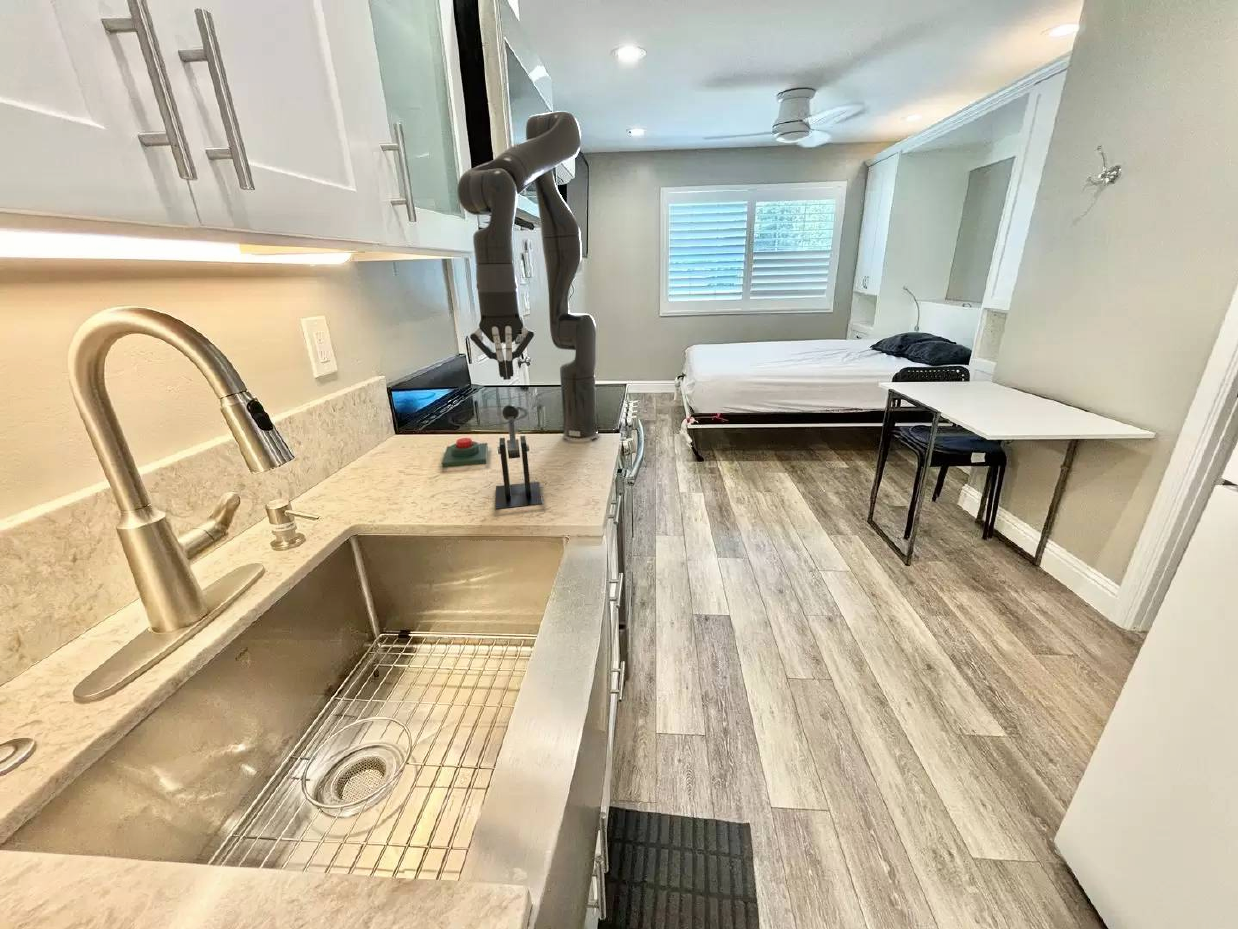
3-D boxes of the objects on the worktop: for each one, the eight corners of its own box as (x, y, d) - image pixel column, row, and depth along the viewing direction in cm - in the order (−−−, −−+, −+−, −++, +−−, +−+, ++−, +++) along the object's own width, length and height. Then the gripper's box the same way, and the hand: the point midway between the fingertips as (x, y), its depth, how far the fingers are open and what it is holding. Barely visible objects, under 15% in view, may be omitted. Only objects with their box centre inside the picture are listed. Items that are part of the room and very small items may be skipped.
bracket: (496, 491, 104) (489, 433, 99) (539, 486, 106) (534, 429, 101) (496, 514, 94) (487, 451, 89) (543, 509, 96) (537, 447, 91)
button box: (448, 454, 126) (446, 439, 124) (488, 450, 128) (486, 436, 126) (443, 471, 115) (440, 455, 113) (486, 467, 117) (484, 451, 115)
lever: (502, 414, 105) (501, 401, 103) (518, 413, 106) (517, 400, 103) (505, 460, 96) (504, 448, 93) (523, 459, 96) (522, 446, 94)
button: (457, 445, 121) (456, 438, 121) (473, 443, 122) (472, 437, 121) (456, 450, 118) (455, 443, 117) (472, 448, 119) (471, 441, 118)
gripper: (531, 287, 99) (538, 373, 105) (463, 289, 96) (474, 377, 103) (533, 289, 92) (540, 380, 98) (460, 291, 90) (472, 384, 96)
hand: (507, 378), depth 101 cm, fingers closed
